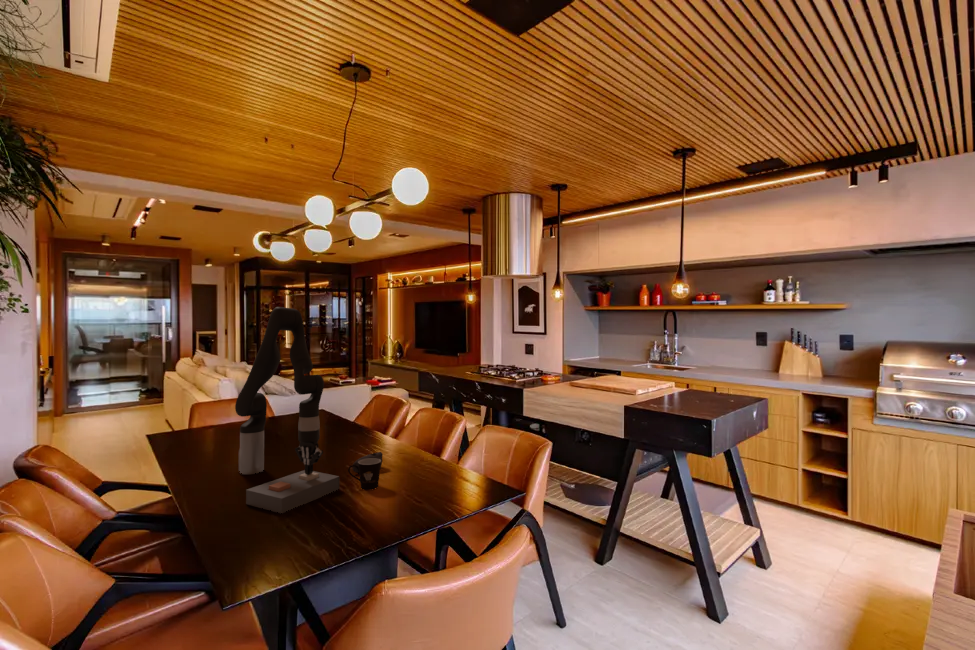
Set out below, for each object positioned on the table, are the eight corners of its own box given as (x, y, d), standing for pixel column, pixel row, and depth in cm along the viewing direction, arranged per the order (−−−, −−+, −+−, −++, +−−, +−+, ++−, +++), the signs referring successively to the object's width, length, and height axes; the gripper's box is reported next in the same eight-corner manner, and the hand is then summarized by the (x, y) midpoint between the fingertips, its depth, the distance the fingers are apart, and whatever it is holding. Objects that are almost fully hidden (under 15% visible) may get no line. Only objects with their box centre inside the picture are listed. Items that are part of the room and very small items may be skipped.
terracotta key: (268, 497, 165) (268, 485, 165) (280, 492, 170) (280, 481, 170) (278, 499, 163) (278, 488, 163) (290, 494, 167) (290, 483, 167)
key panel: (246, 504, 165) (246, 489, 165) (305, 482, 188) (305, 469, 188) (281, 513, 156) (281, 498, 156) (339, 489, 179) (339, 476, 179)
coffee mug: (385, 484, 185) (385, 459, 185) (372, 492, 176) (373, 465, 176) (359, 481, 188) (359, 456, 188) (346, 488, 180) (346, 462, 180)
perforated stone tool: (355, 476, 196) (355, 459, 196) (349, 473, 199) (349, 456, 199) (386, 468, 206) (386, 452, 206) (380, 466, 210) (380, 450, 210)
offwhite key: (298, 485, 177) (298, 475, 177) (309, 481, 181) (309, 471, 181) (308, 488, 174) (308, 477, 174) (318, 484, 179) (318, 473, 179)
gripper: (288, 428, 177) (288, 474, 177) (313, 431, 171) (313, 479, 171) (304, 424, 184) (304, 468, 184) (329, 427, 178) (329, 473, 178)
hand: (308, 473), depth 178 cm, fingers closed
